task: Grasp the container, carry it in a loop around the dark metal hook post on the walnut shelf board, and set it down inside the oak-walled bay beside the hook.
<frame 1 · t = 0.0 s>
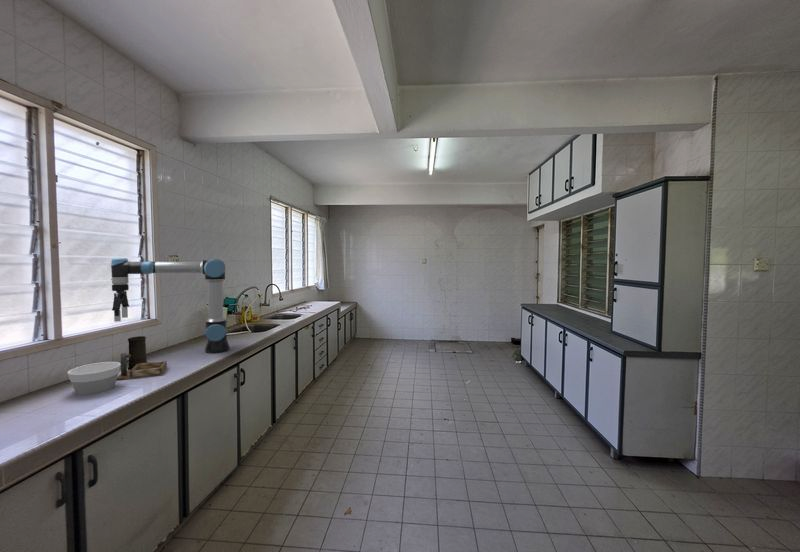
hand: (121, 319, 193), 28 cm above the counter, fingers open, 13 cm apart
container: (137, 368, 190), on the counter
bowl: (95, 389, 159), on the counter
hook shelf: (142, 373, 181), on the counter
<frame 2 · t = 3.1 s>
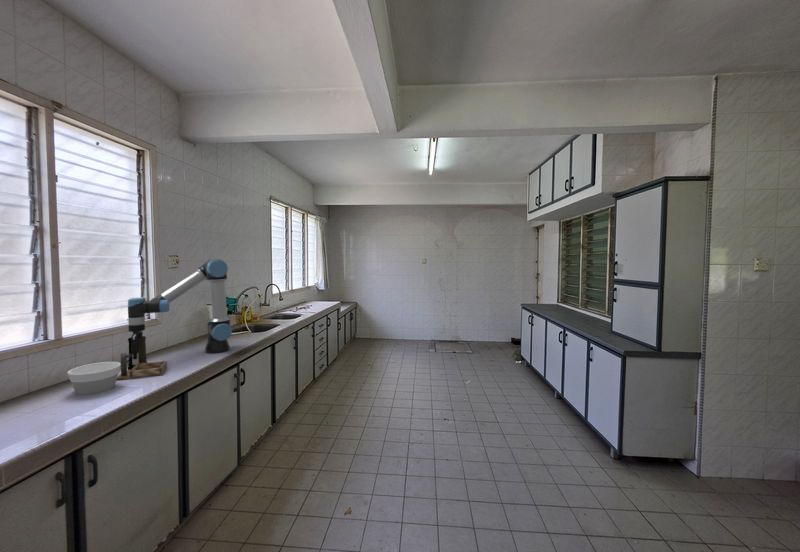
hand: (137, 362, 190), 3 cm above the counter, fingers closed on container, 8 cm apart
container: (137, 368, 190), on the counter, touching gripper
everything else where it was.
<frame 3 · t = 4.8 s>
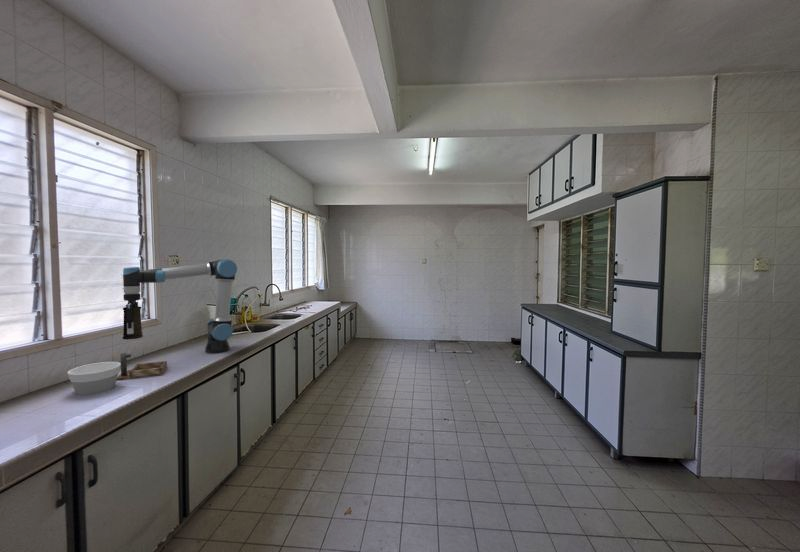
hand: (132, 332, 187), 22 cm above the counter, fingers closed on container, 8 cm apart
container: (132, 338, 188), point 18 cm above the counter, touching gripper
everything else where it was.
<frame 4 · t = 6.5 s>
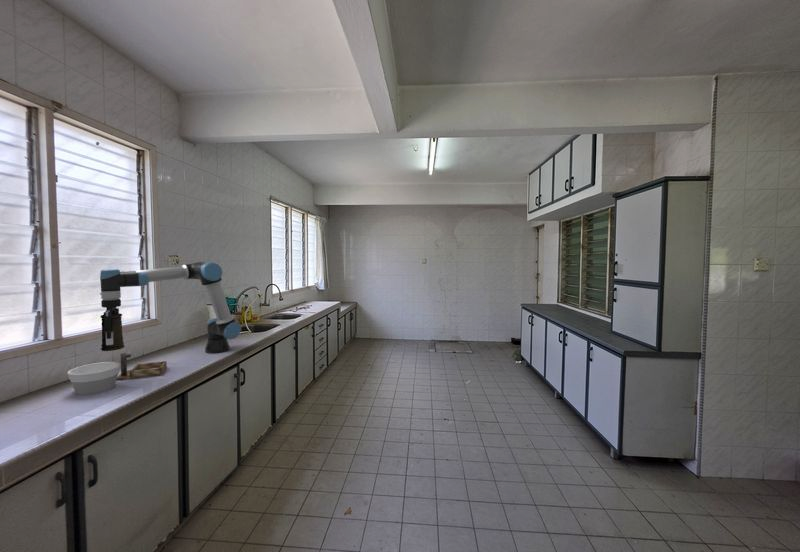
hand: (112, 342, 167), 21 cm above the counter, fingers closed on container, 8 cm apart
container: (112, 349, 167), point 17 cm above the counter, touching gripper
everything else where it was.
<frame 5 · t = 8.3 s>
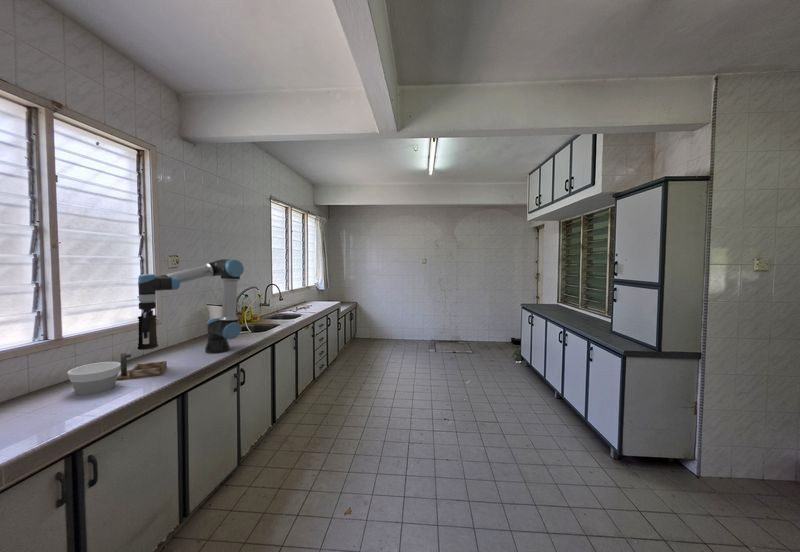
hand: (147, 342, 181), 18 cm above the counter, fingers closed on container, 8 cm apart
container: (147, 348, 181), point 14 cm above the counter, touching gripper
everything else where it was.
when the fingers open (6 cm above the counter, at t = 10.0 s): container drops 2 cm, resting on hook shelf.
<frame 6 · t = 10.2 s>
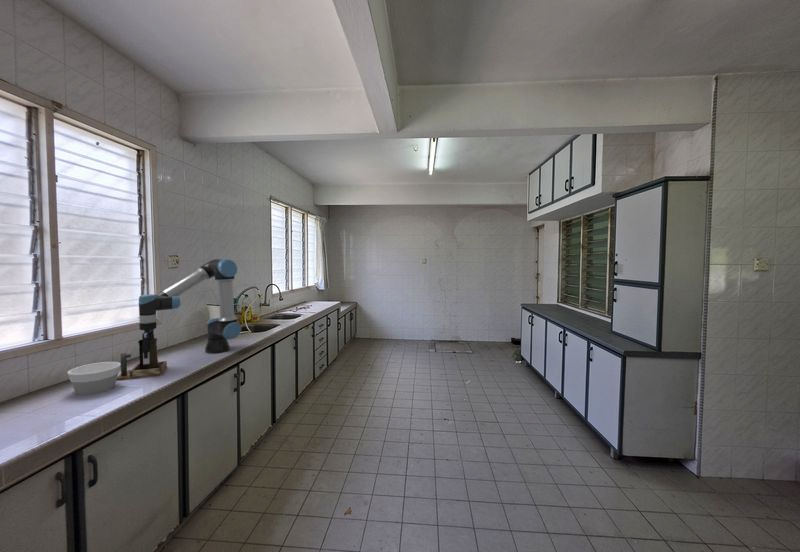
hand: (148, 360, 182), 7 cm above the counter, fingers open, 10 cm apart
container: (149, 371, 182), point 1 cm above the counter, touching hook shelf
everything else where it was.
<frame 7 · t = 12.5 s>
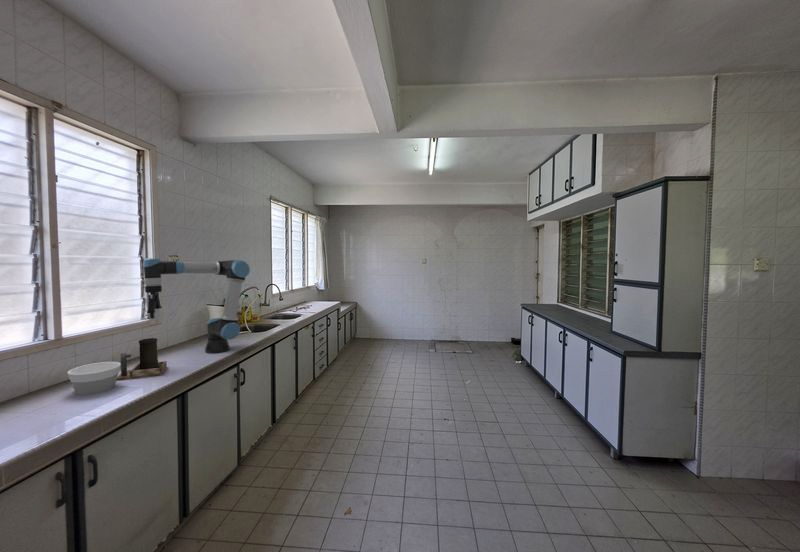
hand: (155, 321, 186), 28 cm above the counter, fingers open, 13 cm apart
nothing on the counter moved.
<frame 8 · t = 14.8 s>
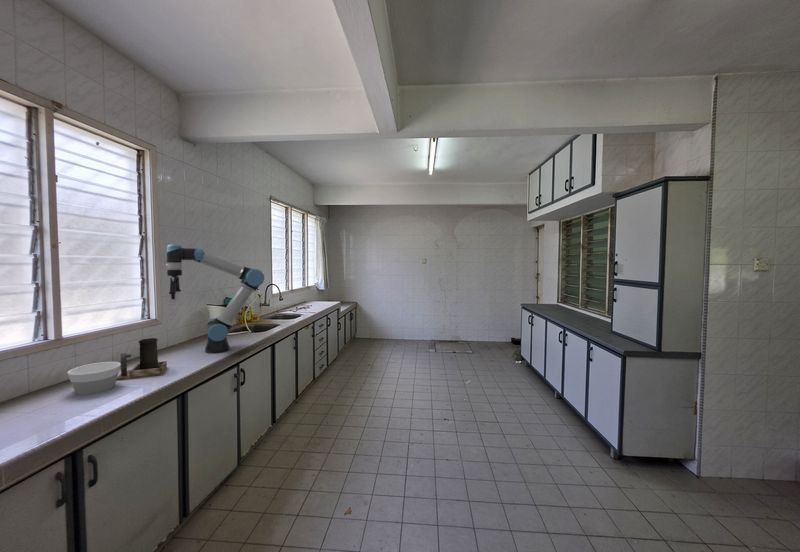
hand: (175, 303, 203), 37 cm above the counter, fingers open, 13 cm apart
nothing on the counter moved.
at the end: container inside the target area on the hook shelf (0.1 cm from its centre), point 0.8 cm above the hook shelf's base; container tilted 0°; the gripper is holding nothing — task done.
